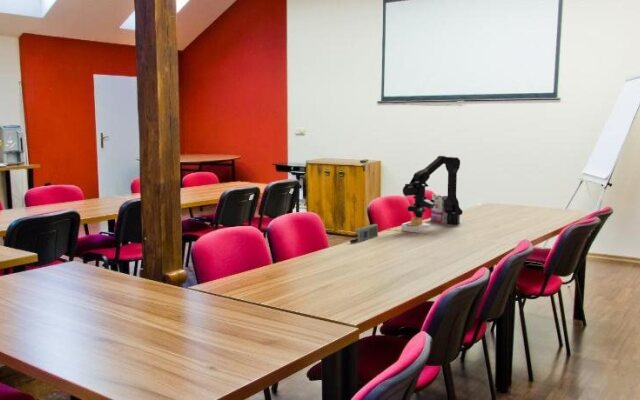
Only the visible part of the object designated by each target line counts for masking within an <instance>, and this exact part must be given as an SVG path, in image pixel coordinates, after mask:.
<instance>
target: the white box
mask: <svg viewBox="0 0 640 400" xmlns="http://www.w3.org/2000/svg"><path fill="white" fill-rule="evenodd" d="M430 224H431V223H426V224H425V222H424V223H423V222H422V225H420V226H413V225H411V220H410V221H407V222H404V223H401V231H403V230H404V231H405V232H411V233H420V232H422V231H423V230H425V229H427V228H431V226H430ZM404 231H403V232H404Z"/></svg>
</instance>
